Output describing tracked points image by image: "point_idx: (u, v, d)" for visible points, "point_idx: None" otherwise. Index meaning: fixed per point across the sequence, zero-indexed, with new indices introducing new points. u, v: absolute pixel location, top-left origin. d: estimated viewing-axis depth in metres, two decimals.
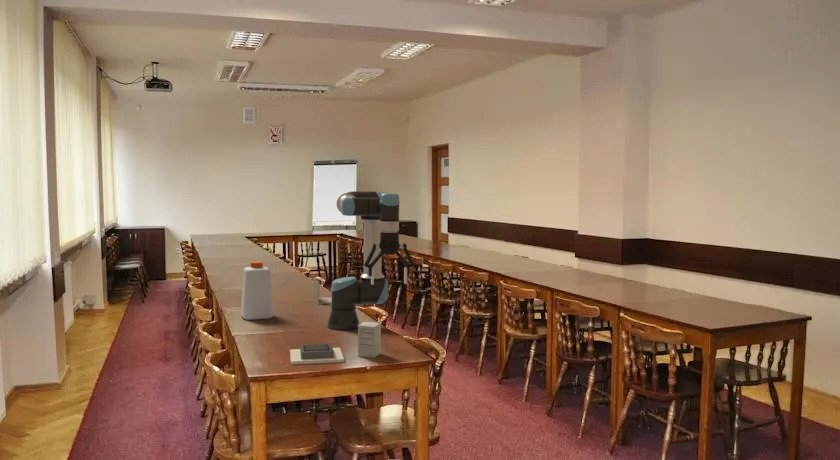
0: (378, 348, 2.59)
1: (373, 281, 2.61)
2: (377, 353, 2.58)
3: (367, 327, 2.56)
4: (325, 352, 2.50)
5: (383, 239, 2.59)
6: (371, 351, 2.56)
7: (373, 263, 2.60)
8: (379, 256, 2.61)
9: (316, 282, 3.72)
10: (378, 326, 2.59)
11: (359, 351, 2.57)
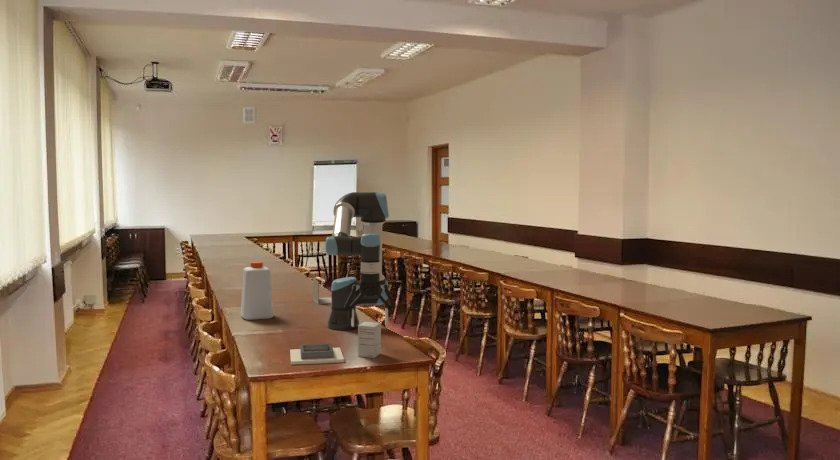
0: (378, 348, 2.59)
1: (353, 323, 2.56)
2: (377, 353, 2.58)
3: (367, 327, 2.56)
4: (325, 352, 2.50)
5: (363, 280, 2.55)
6: (371, 351, 2.56)
7: (353, 305, 2.56)
8: (359, 298, 2.56)
9: (316, 282, 3.72)
10: (378, 326, 2.59)
11: (359, 351, 2.57)
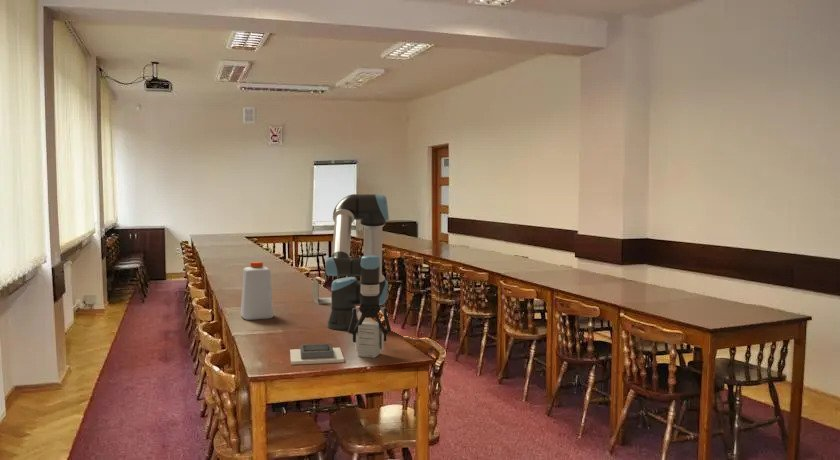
0: (378, 348, 2.59)
1: (357, 347, 2.57)
2: (377, 353, 2.58)
3: (367, 327, 2.56)
4: (325, 352, 2.50)
5: (363, 302, 2.56)
6: (371, 351, 2.56)
7: (356, 329, 2.57)
8: (361, 321, 2.57)
9: (316, 282, 3.72)
10: (378, 326, 2.59)
11: (359, 351, 2.57)
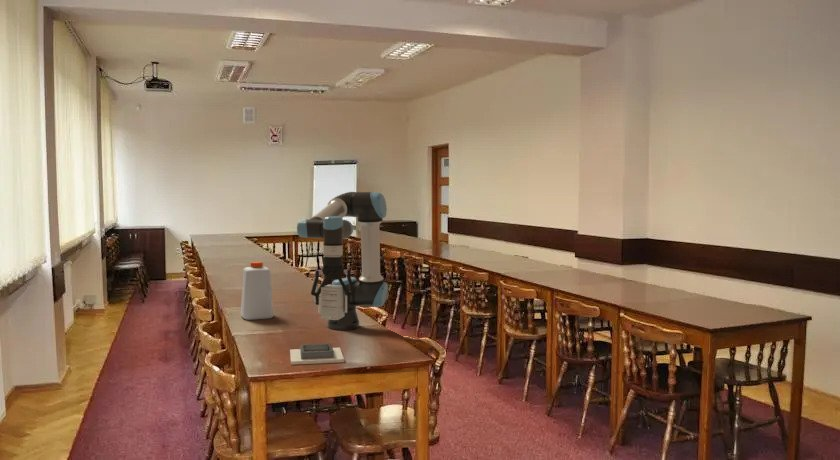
0: (342, 311, 2.55)
1: (320, 310, 2.53)
2: (340, 316, 2.54)
3: (330, 289, 2.51)
4: (325, 352, 2.50)
5: (326, 264, 2.51)
6: (334, 314, 2.51)
7: (319, 291, 2.52)
8: (324, 283, 2.53)
9: None
10: (341, 288, 2.54)
11: (322, 313, 2.53)
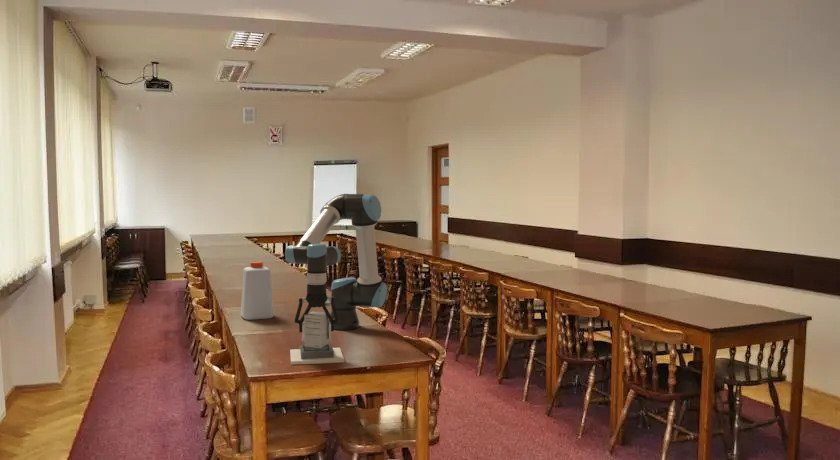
0: (325, 339, 2.54)
1: (303, 337, 2.52)
2: (324, 343, 2.53)
3: (313, 316, 2.51)
4: (325, 352, 2.50)
5: (309, 292, 2.51)
6: (317, 341, 2.51)
7: (303, 318, 2.52)
8: (307, 310, 2.52)
9: None
10: (325, 316, 2.54)
11: (305, 341, 2.52)
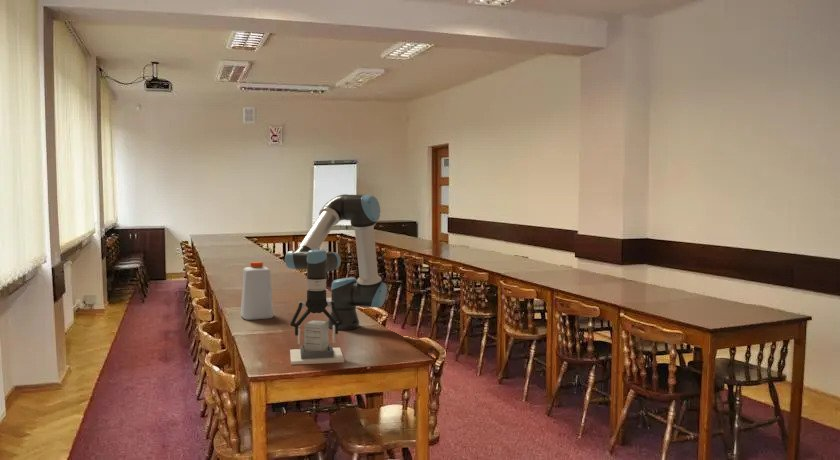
0: (325, 347, 2.55)
1: (299, 341, 2.52)
2: None
3: (313, 326, 2.51)
4: (325, 352, 2.50)
5: (309, 298, 2.51)
6: (317, 350, 2.51)
7: (299, 322, 2.52)
8: (305, 315, 2.52)
9: None
10: (325, 325, 2.54)
11: (305, 350, 2.53)
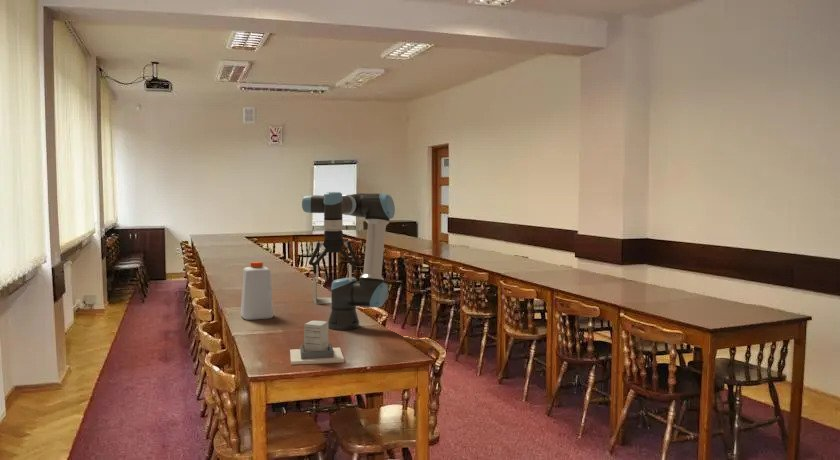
0: (325, 347, 2.55)
1: (317, 279, 2.65)
2: None
3: (313, 326, 2.51)
4: (325, 352, 2.50)
5: (326, 237, 2.63)
6: (317, 350, 2.51)
7: (317, 261, 2.64)
8: (323, 254, 2.64)
9: None
10: (325, 325, 2.54)
11: (305, 350, 2.53)
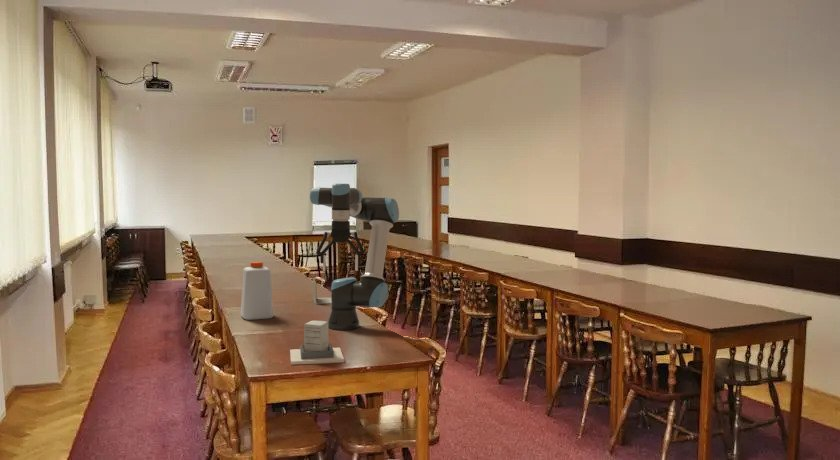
0: (325, 347, 2.55)
1: None
2: None
3: (313, 326, 2.51)
4: (325, 352, 2.50)
5: (334, 227, 2.69)
6: (317, 350, 2.51)
7: (324, 250, 2.70)
8: (330, 244, 2.70)
9: (314, 282, 3.72)
10: (325, 325, 2.54)
11: (305, 350, 2.53)
